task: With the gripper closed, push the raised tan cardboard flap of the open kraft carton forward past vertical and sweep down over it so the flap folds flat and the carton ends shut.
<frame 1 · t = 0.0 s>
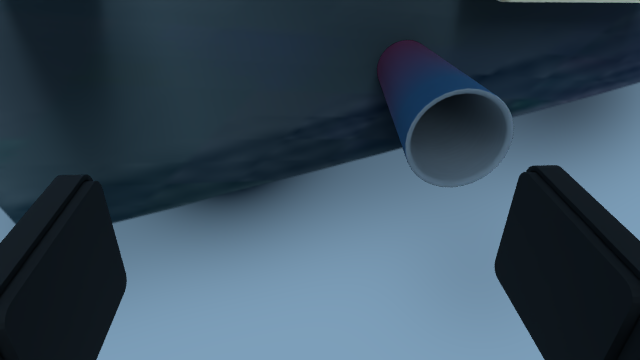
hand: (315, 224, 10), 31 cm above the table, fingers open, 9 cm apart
cup: (403, 67, 41), on the table
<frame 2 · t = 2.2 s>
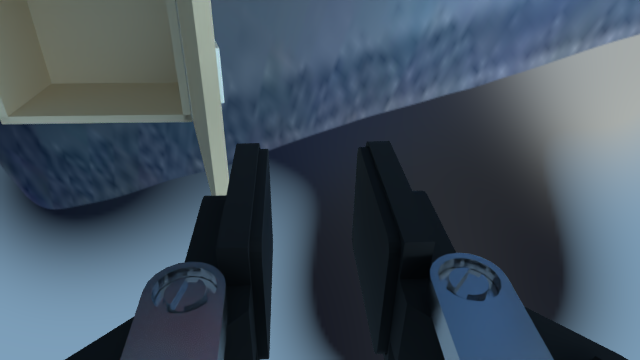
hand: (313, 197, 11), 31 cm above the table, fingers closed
lid: (195, 38, 25), point 15 cm above the table, hinge at 105.0°
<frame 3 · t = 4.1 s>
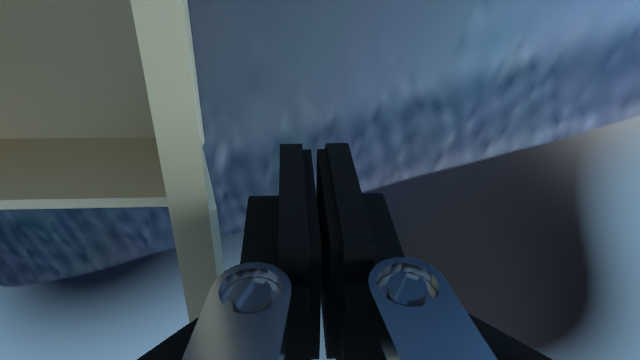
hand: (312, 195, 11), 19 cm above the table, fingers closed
carton: (70, 21, 27), on the table
lid: (179, 123, 15), point 15 cm above the table, hinge at 104.5°, touching gripper
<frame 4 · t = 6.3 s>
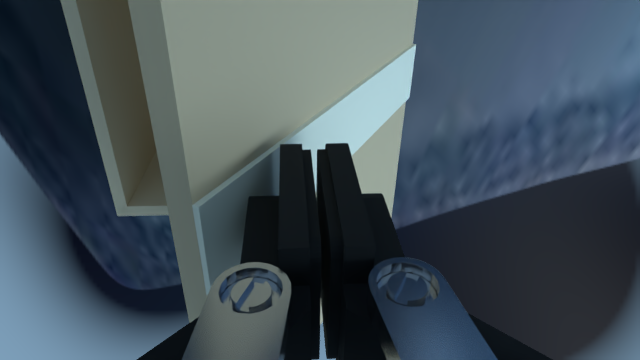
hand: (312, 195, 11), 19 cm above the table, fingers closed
carton: (251, 26, 27), on the table
lid: (335, 127, 15), point 15 cm above the table, hinge at 58.9°, touching gripper
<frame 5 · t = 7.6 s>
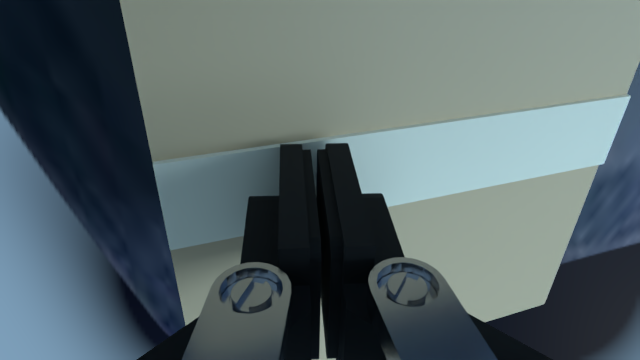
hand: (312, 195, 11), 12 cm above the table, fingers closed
lid: (419, 157, 13), point 11 cm above the table, hinge at 16.5°, touching gripper
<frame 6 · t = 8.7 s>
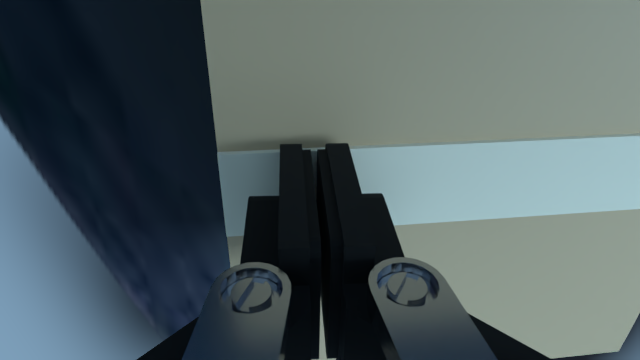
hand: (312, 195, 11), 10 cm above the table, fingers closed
lid: (483, 174, 12), point 9 cm above the table, hinge at 3.7°, touching gripper
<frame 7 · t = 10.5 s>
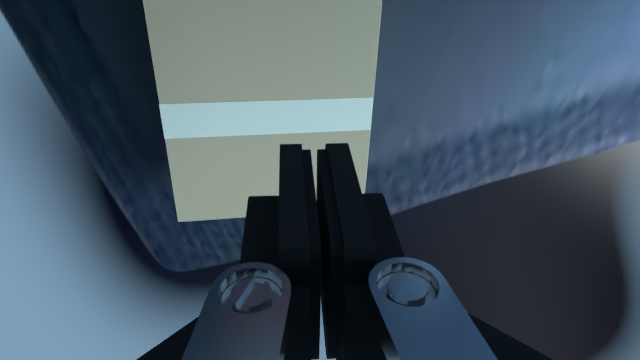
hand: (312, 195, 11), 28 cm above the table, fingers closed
lid: (270, 115, 30), point 9 cm above the table, hinge at 3.6°
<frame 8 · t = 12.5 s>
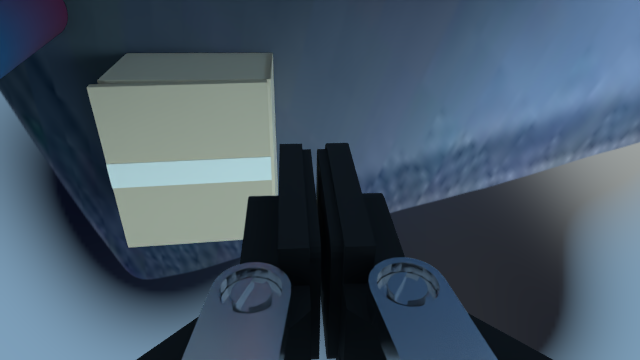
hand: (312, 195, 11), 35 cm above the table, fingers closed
carton: (209, 128, 48), on the table
cup: (39, 8, 41), on the table
lid: (192, 170, 40), point 9 cm above the table, hinge at 3.6°
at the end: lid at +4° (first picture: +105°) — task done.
